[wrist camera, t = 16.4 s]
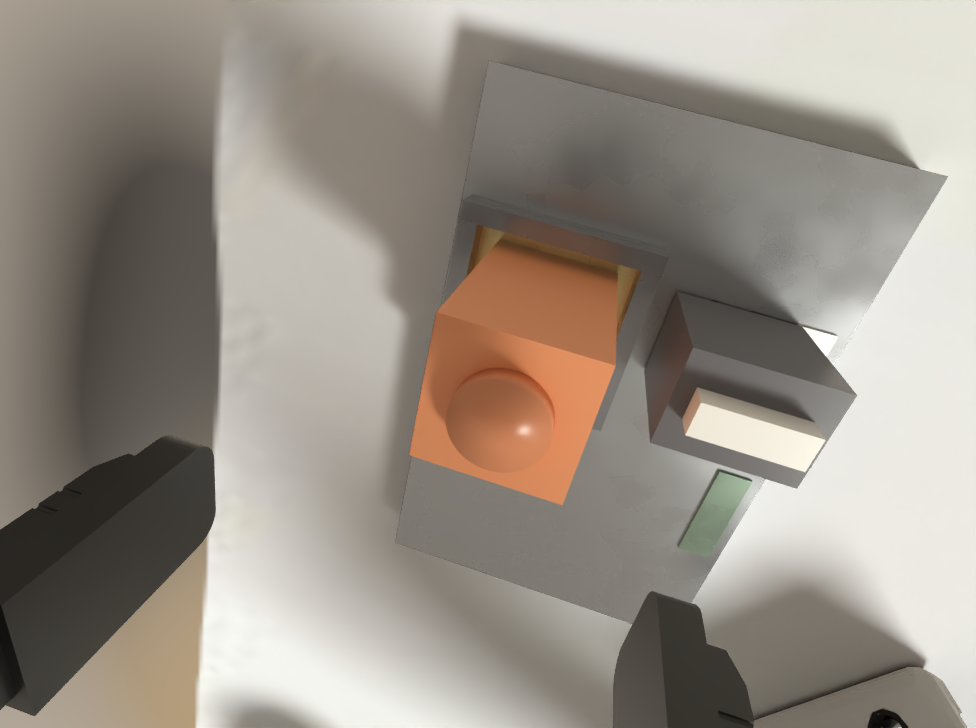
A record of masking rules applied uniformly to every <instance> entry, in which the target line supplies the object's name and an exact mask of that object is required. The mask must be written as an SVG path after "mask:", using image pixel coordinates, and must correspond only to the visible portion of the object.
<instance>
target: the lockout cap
mask: <svg viewBox="0 0 976 728" xmlns="http://www.w3.org/2000/svg"><path fill="white" fill-rule="evenodd" d="M617 289H618V272H614V271H611V270H607V269H604V268H600V267H597V266H593V265H590V264H586V263H583V262H579V261H575V260H572V259H568V258H565V257H561V256H558V255H554V254H551V253H547V252H544V251H540V250H537V249H533V248H530V247H526V246H522V245H519V244H515V243H512V242H508V241H505V240H501V239H499V240H498V242H497V243H496V244H495V245H494V246H493V247H492V249H491V250H490V251H489V252H488V253H487V254H486V255H485V257H484V258H483V259H482V260H481V261H480V262H479V263H478V265H477V266H476V267H475V268H474V269H473V270H472V271H471V273H470V274H469V275H468V276H467V277H466V278H465V280H464V281H463V282H462V283H461V284H460V285H459V286H458V288H457V289H456V290H455V291H454V292H453V293H452V294H451V296H450V297H449V298H448V299H447V300H446V301H445V302H444V304H443V305H442V306H441V307H440V308H439V309H438V311H437V312H436V316H435V321H434V326H433V332H432V337H431V342H430V347H429V353H428V358H427V363H426V368H425V374H424V379H423V384H422V389H421V395H420V400H419V405H418V410H417V416H416V421H415V426H414V431H413V437H412V442H411V447H410V452H409V455H410V456H413V457H416V458H419V459H422V460H425V461H428V462H431V463H434V464H437V465H440V466H443V467H446V468H449V469H453V470H456V471H459V472H462V473H465V474H468V475H471V476H474V477H477V478H480V479H483V480H486V481H489V482H492V483H495V484H498V485H502V486H505V487H508V488H511V489H514V490H517V491H520V492H523V493H526V494H529V495H532V496H535V497H538V498H541V499H544V500H547V501H550V502H554V503H557V504H560V505H563V503H564V500H565V497H566V495H567V492H568V489H569V487H570V484H571V482H572V479H573V476H574V474H575V471H576V468H577V466H578V463H579V461H580V458H581V455H582V453H583V450H584V448H585V445H586V442H587V440H588V437H589V434H590V432H591V429H592V427H593V424H594V421H595V419H596V416H597V414H598V411H599V408H600V406H601V403H602V400H603V398H604V395H605V393H606V390H607V387H608V385H609V382H610V380H611V377H612V374H613V372H614V369H615V366H616V333H617Z"/></svg>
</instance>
